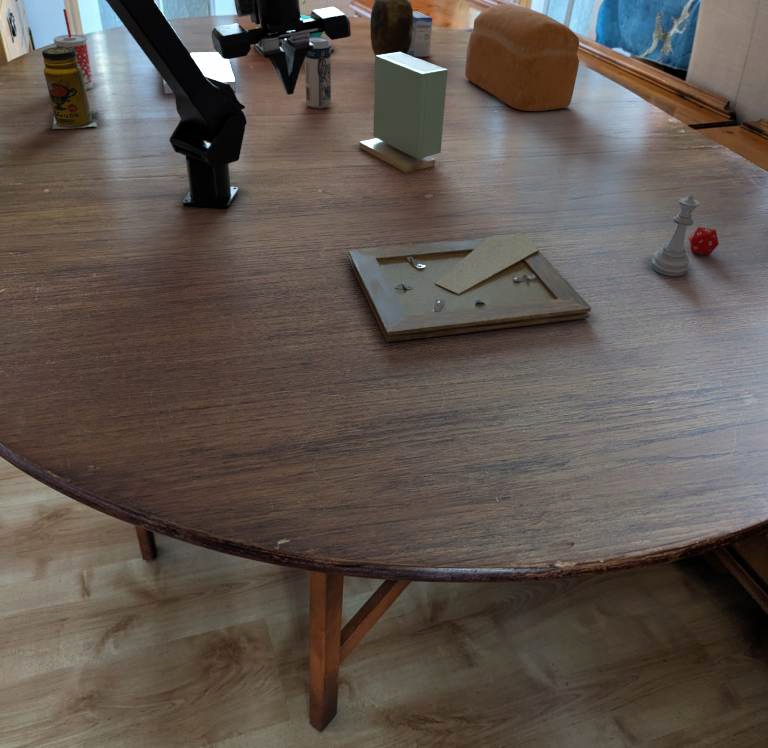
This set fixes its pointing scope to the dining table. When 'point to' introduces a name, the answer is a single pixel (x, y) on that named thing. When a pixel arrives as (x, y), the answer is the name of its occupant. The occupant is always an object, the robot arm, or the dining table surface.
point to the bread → (523, 58)
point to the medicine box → (420, 35)
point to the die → (703, 241)
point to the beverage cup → (77, 50)
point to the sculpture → (391, 26)
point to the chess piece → (676, 242)
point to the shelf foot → (395, 156)
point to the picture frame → (463, 287)
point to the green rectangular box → (409, 103)
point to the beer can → (318, 73)
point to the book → (211, 69)
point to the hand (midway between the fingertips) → (289, 93)
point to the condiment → (67, 89)
